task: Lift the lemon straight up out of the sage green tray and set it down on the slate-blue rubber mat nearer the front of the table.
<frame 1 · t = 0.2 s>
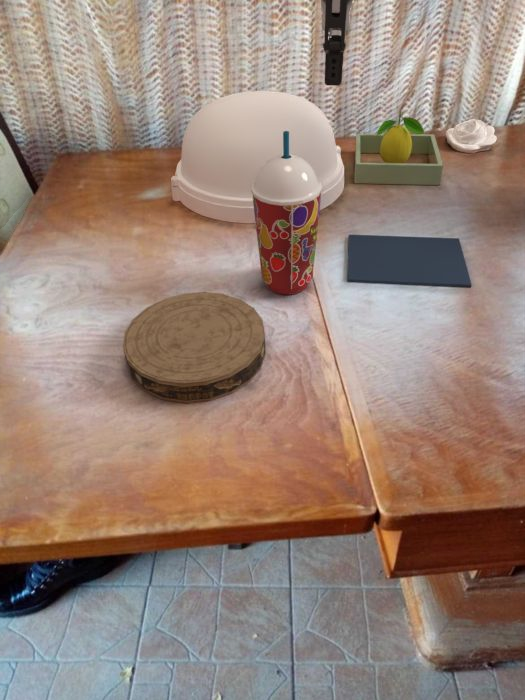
hand: (334, 75, 73), 20 cm above the table, tool pointing down, fingers open, 8 cm apart
sage green tray: (394, 167, 99), on the table
smoothie: (287, 284, 72), on the table
dome cover: (259, 183, 96), on the table
lemon: (394, 168, 99), resting in sage green tray
rose: (468, 145, 106), on the table
mat: (405, 260, 76), on the table
wood slice: (197, 354, 63), on the table
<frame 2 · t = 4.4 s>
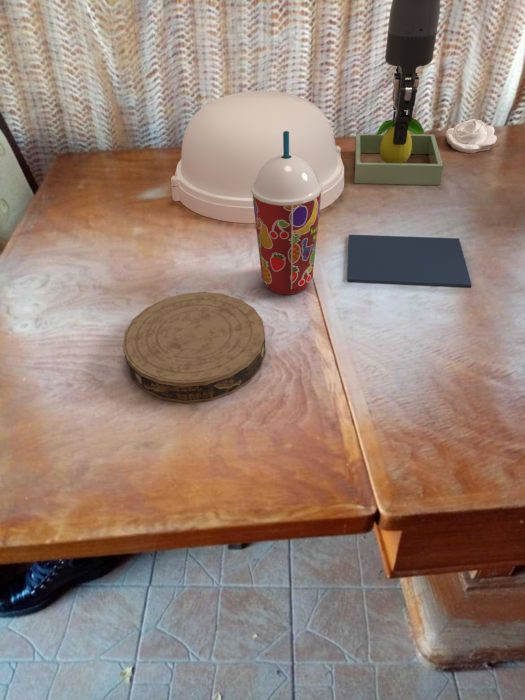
hand: (398, 137, 96), 5 cm above the table, tool pointing down, fingers closed on lemon, 4 cm apart
lemon: (394, 168, 99), resting in sage green tray, touching gripper
everything else where it was.
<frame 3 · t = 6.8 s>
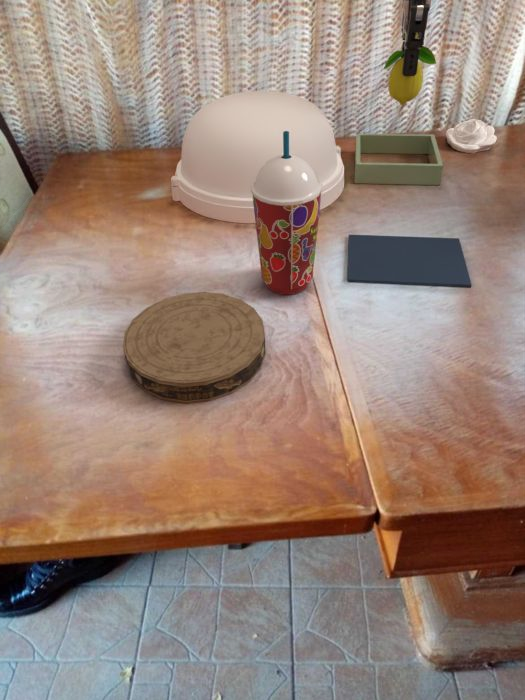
hand: (407, 70, 88), 16 cm above the table, tool pointing down, fingers closed on lemon, 4 cm apart
lemon: (403, 106, 92), point 11 cm above the table, touching gripper
everything else where it was.
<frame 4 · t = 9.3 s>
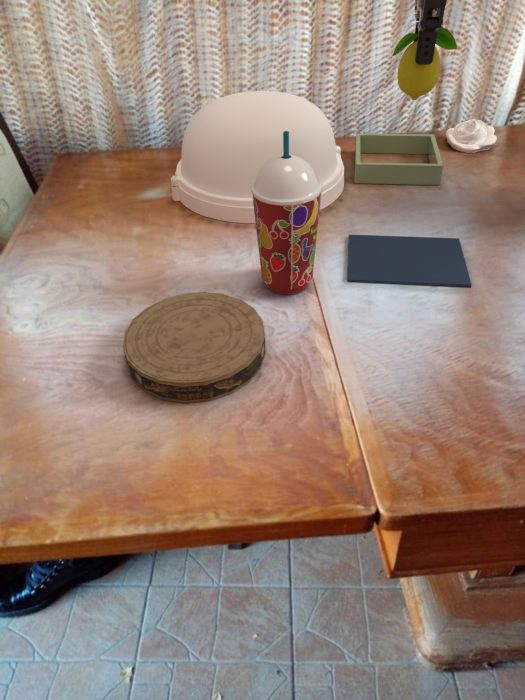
hand: (421, 57, 72), 22 cm above the table, tool pointing down, fingers closed on lemon, 4 cm apart
lemon: (415, 101, 76), point 17 cm above the table, touching gripper
everything else where it was.
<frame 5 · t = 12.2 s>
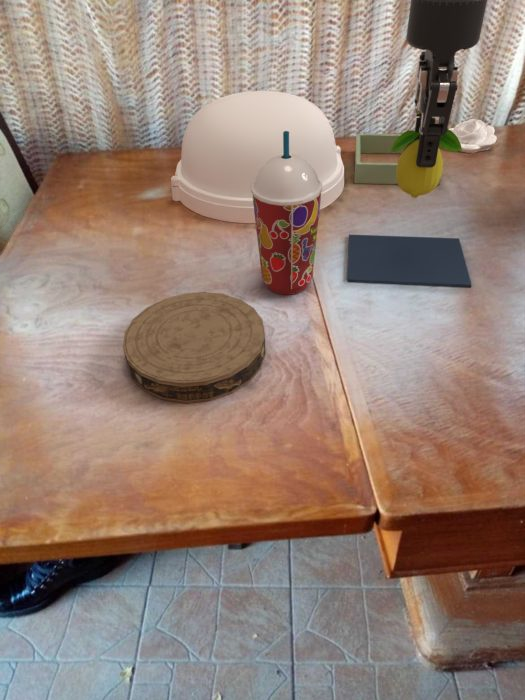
hand: (423, 156, 66), 15 cm above the table, tool pointing down, fingers closed on lemon, 4 cm apart
lemon: (416, 199, 69), point 9 cm above the table, touching gripper
everything else where it was.
when the fingers open (6 cm above the table, at t = 14.6 s): lemon stays where it is, resting on mat.
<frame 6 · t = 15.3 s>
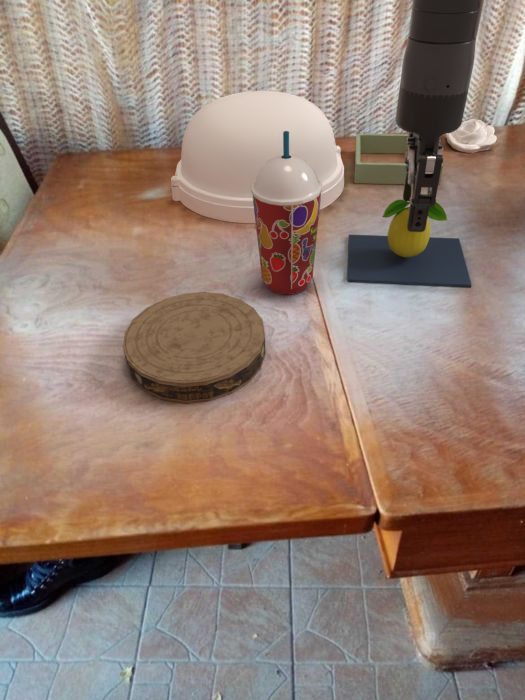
hand: (413, 214, 71), 7 cm above the table, tool pointing down, fingers open, 8 cm apart
lemon: (406, 258, 75), resting on mat
everything else where it was.
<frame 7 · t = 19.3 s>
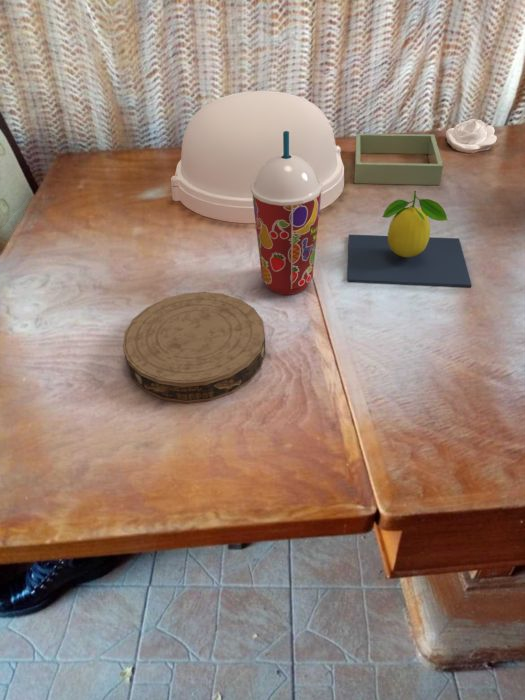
nothing on the table moved.
at the end: lemon inside the target area on the mat (0.1 cm from its centre), point 0.2 cm above the mat's base; the gripper is holding nothing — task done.
